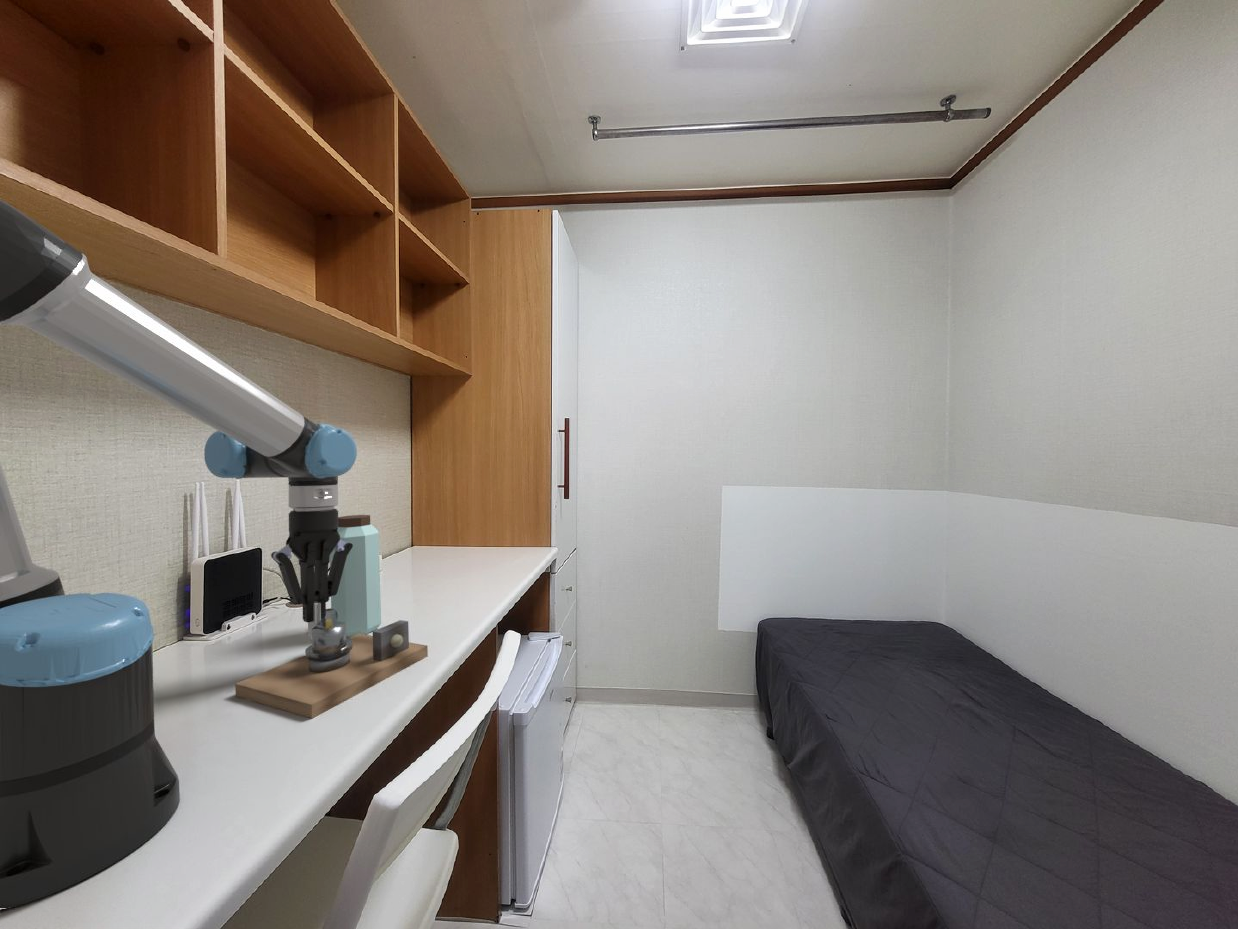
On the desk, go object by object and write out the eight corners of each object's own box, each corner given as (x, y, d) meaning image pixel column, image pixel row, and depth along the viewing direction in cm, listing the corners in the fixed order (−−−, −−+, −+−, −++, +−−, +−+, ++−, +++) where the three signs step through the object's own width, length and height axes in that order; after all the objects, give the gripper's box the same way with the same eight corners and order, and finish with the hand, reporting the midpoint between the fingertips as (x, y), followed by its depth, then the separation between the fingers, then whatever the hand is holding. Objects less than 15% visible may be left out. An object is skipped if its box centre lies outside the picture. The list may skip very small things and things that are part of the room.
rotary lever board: (312, 718, 66) (310, 670, 66) (235, 696, 73) (233, 652, 73) (427, 656, 87) (426, 619, 87) (359, 643, 93) (358, 609, 93)
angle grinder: (353, 654, 79) (353, 624, 79) (304, 665, 75) (303, 633, 75) (349, 627, 92) (348, 601, 92) (307, 635, 88) (306, 608, 88)
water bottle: (342, 643, 94) (338, 521, 93) (322, 632, 100) (319, 517, 99) (391, 628, 102) (388, 515, 101) (370, 619, 108) (367, 512, 107)
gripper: (283, 512, 76) (284, 654, 76) (360, 506, 87) (360, 631, 87) (264, 510, 80) (264, 645, 80) (339, 505, 91) (339, 624, 91)
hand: (314, 638), depth 83 cm, fingers closed
